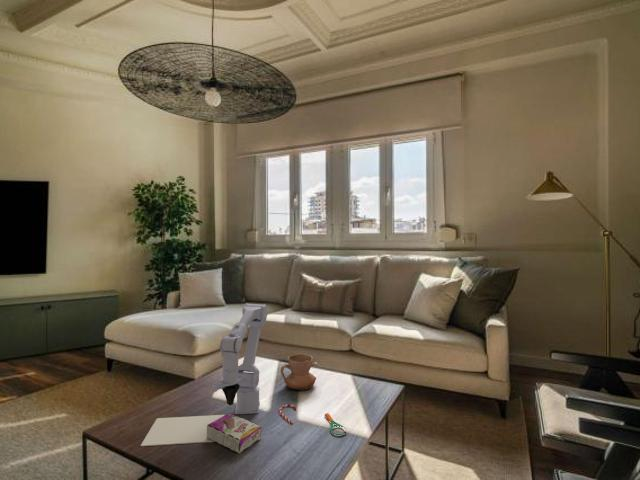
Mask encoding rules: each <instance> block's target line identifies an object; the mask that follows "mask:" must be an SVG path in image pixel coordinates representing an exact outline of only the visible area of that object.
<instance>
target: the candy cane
mask: <svg viewBox="0 0 640 480" xmlns="http://www.w3.org/2000/svg"><path fill="white" fill-rule="evenodd" d="M292 407H293V408H292ZM285 408H292V409H293V410H294V411H297V410H296V409H297V407H296V406H295V405H294V404H283V405H281V406H280V407H279V409H278V414H279V416H280V415H281V416H280V417H281V418H282V419H283V420H284V421H285V420H286V421H285V422H287V423H288V424H289V423H290V424H289V425H291V424H292V425H293V424H294V422H293V421H292V420H290V419H289V418H288V417H287V416H286V414H284V413H283V411H282V410H284V409H285Z"/></svg>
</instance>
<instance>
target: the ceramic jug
mask: <svg viewBox="0 0 640 480" xmlns="http://www.w3.org/2000/svg"><path fill="white" fill-rule="evenodd" d="M313 360H314V359H313V356H312V355H311V354H308V353H296V354H291V355H288V356H287V364H286V363H284V364H283V365H281V367H280V375H281V377H282V379H283V382H284V384H285V385H286V386H287V387H288V388H289V389H292V390H296V391H304V390H308V389H311V388H312V387H313V386H314V385H315V383H316V380H317V377H316V376H314V374H313V373H311V372H310V370H311V368H312V367H314V366H315V367H316V366H317V367H318V362H316V361H315V362H313ZM284 369H289V370H290V373H289V374H288V375H287V376H285V374H284Z"/></svg>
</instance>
